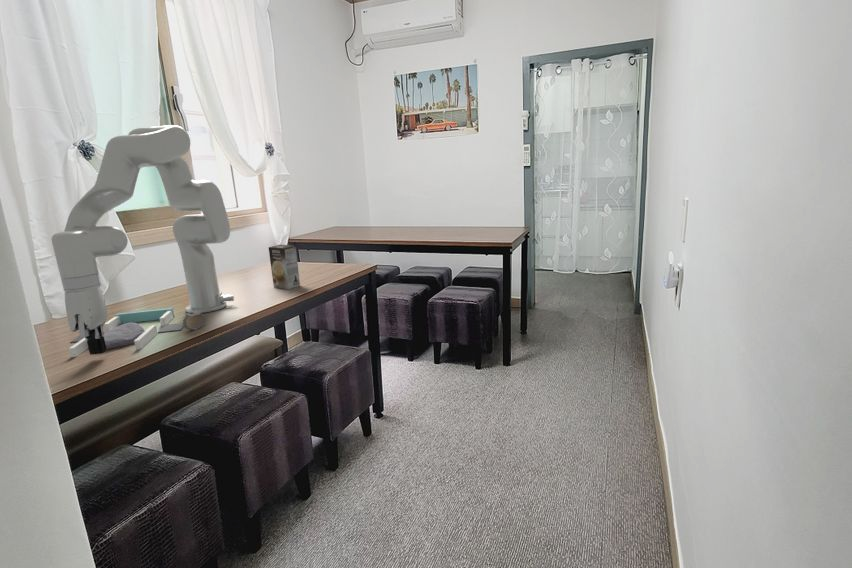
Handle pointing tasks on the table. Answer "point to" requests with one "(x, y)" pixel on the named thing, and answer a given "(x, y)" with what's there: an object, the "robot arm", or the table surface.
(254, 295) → the table surface
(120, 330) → the stone block
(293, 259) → the coffee box
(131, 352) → the table surface
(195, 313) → the wristwatch
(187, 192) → the robot arm
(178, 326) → the trap channel
